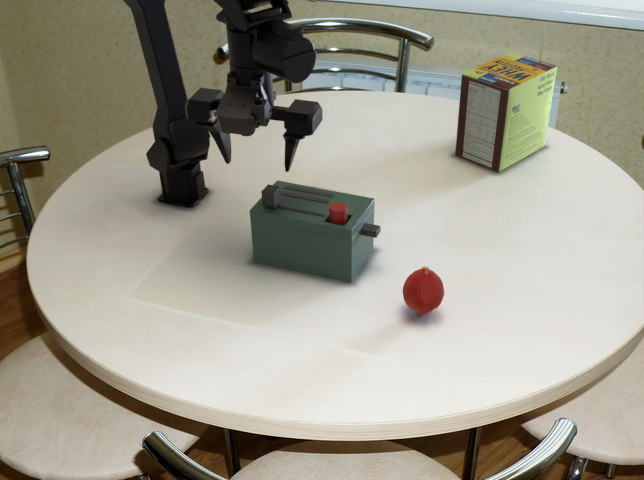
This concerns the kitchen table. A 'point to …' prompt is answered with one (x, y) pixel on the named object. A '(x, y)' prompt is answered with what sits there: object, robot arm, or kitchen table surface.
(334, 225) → the toaster
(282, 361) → the kitchen table surface
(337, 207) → the button
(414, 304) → the onion
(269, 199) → the slider
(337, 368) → the kitchen table surface
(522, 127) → the protein box
